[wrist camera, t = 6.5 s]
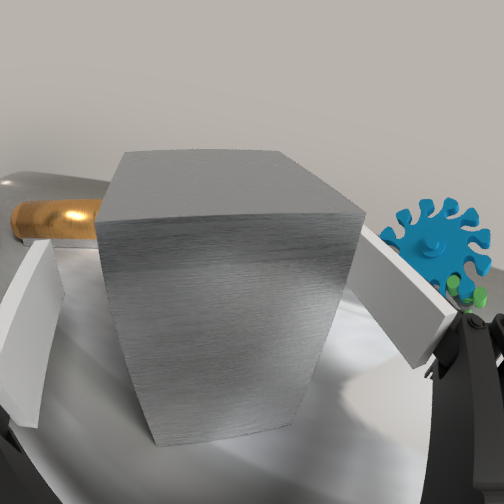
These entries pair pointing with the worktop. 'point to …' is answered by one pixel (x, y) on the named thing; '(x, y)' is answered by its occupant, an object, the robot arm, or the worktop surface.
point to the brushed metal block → (222, 284)
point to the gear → (444, 250)
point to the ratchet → (57, 222)
